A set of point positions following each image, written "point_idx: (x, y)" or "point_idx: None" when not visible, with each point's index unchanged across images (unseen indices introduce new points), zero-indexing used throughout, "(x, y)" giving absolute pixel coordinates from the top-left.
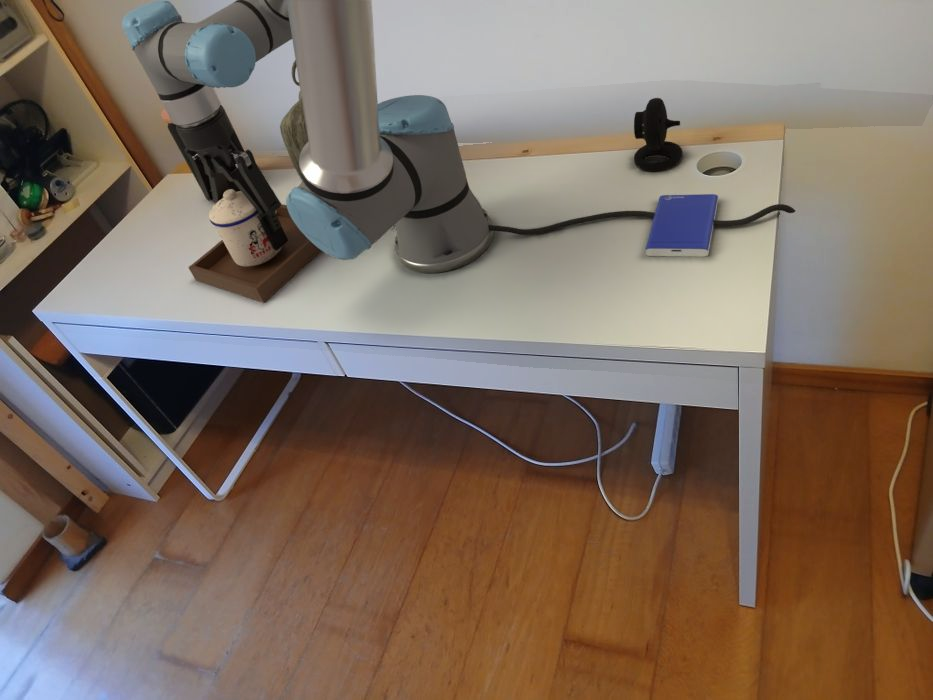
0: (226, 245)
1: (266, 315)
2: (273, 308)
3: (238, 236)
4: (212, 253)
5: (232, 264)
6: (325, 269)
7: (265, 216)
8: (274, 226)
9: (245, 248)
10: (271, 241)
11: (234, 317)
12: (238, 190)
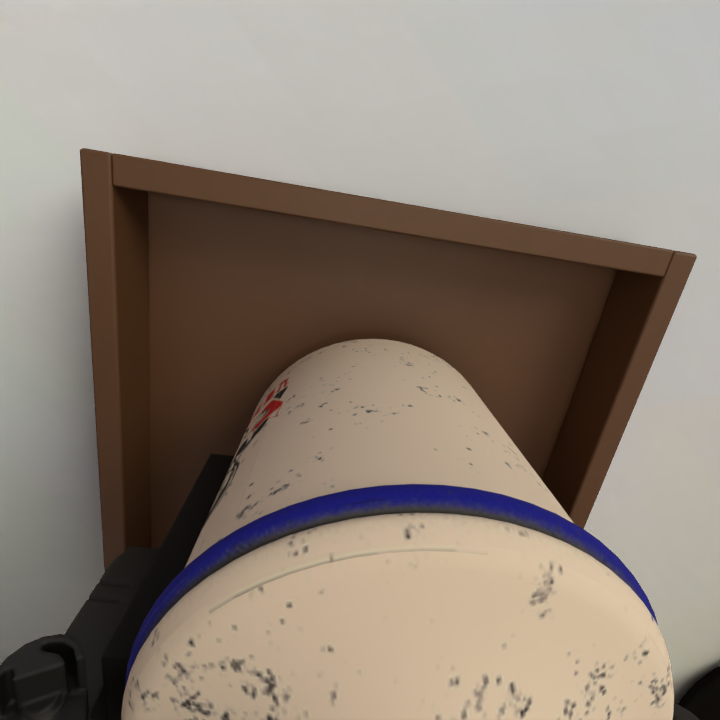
0: (446, 394)
1: (34, 70)
2: (43, 132)
3: (285, 448)
4: (610, 388)
5: (487, 367)
6: (22, 421)
7: (92, 666)
8: (102, 584)
9: (295, 398)
10: (204, 488)
11: (213, 14)
12: (712, 711)
